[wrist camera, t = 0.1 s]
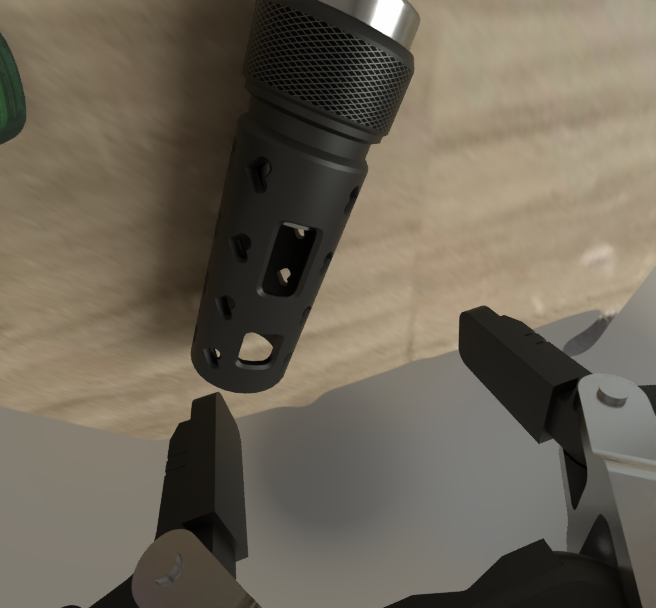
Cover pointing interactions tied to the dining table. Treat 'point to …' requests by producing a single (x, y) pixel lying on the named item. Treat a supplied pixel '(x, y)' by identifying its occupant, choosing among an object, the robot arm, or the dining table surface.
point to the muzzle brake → (296, 171)
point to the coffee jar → (10, 95)
